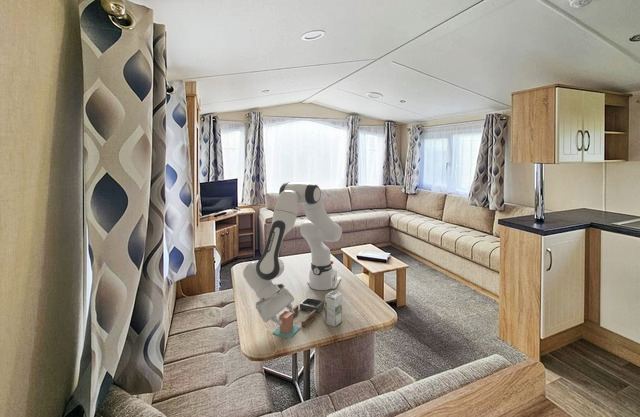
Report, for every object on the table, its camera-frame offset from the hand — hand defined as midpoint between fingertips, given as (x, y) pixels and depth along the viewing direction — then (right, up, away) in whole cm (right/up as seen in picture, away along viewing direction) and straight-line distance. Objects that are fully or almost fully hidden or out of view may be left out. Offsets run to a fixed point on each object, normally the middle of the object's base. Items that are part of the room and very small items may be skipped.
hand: (287, 319), depth 137 cm
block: (0, -5, +1) cm, 5 cm away
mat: (0, -6, +1) cm, 6 cm away
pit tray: (+10, -2, +22) cm, 24 cm away
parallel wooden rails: (+5, -4, +11) cm, 13 cm away
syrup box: (+21, -5, +8) cm, 23 cm away
